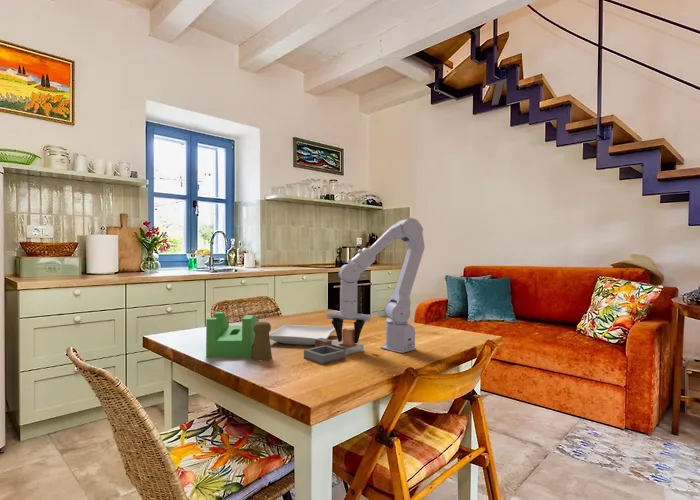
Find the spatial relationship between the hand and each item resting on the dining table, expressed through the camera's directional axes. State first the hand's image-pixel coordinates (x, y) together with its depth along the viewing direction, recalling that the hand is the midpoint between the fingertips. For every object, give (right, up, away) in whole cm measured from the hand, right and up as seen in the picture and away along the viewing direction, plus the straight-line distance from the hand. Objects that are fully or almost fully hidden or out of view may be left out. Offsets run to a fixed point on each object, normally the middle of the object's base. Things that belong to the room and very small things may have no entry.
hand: (348, 341), depth 132 cm
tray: (-7, -3, -9) cm, 12 cm away
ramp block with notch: (-38, -3, +3) cm, 39 cm away
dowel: (0, -3, 0) cm, 3 cm away
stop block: (-8, -3, 0) cm, 9 cm away
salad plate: (-16, -3, +15) cm, 22 cm away
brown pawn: (-26, -3, -10) cm, 28 cm away
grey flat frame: (-2, -3, +2) cm, 4 cm away
